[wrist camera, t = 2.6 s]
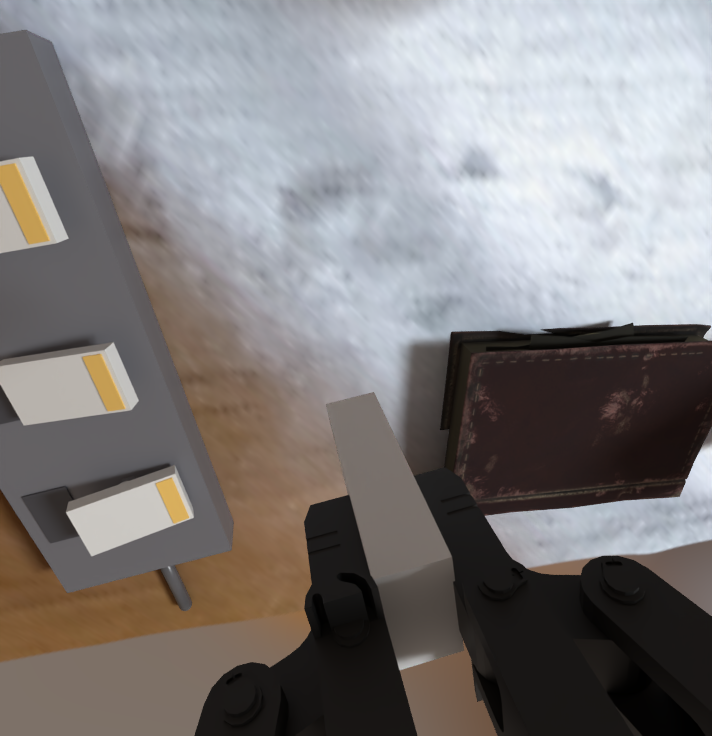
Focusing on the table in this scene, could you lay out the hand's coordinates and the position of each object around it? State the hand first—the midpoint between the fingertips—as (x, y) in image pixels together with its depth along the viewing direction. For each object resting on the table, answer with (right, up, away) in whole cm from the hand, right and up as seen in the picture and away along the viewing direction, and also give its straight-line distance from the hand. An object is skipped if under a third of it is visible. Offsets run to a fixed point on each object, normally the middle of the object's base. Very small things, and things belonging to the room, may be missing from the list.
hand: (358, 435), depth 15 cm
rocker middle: (-19, +1, +17) cm, 25 cm away
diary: (+20, -2, +32) cm, 38 cm away
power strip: (-21, -1, +23) cm, 31 cm away
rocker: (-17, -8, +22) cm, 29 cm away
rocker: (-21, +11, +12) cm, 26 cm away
